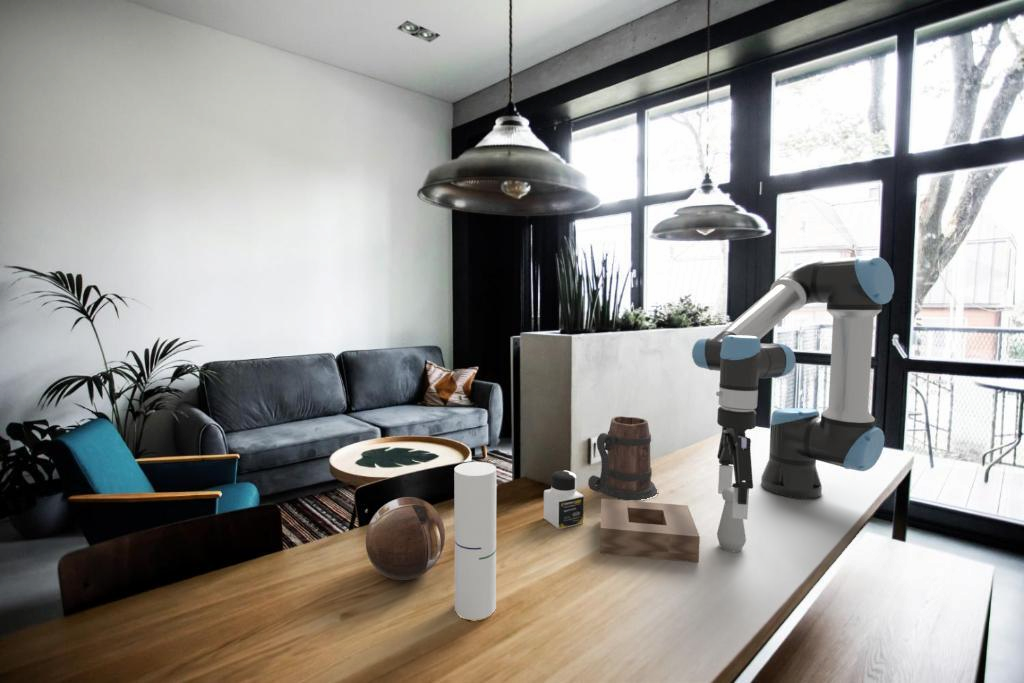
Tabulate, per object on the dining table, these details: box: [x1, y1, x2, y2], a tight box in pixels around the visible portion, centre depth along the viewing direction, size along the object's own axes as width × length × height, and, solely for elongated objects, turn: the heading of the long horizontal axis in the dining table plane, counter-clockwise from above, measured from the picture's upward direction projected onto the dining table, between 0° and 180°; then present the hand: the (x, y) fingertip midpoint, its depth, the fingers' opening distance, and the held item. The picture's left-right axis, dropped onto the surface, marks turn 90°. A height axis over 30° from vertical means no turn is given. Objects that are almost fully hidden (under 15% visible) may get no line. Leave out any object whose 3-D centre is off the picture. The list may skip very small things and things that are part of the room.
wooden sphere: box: [365, 496, 446, 581], centre depth 99 cm, size 15×15×15 cm
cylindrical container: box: [453, 461, 497, 620], centre depth 87 cm, size 7×7×25 cm
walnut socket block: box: [599, 498, 701, 563], centre depth 114 cm, size 20×16×6 cm
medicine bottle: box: [543, 469, 585, 530], centre depth 123 cm, size 7×7×12 cm
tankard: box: [587, 415, 658, 501], centre depth 142 cm, size 24×17×20 cm
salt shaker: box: [716, 487, 747, 553], centre depth 110 cm, size 6×6×13 cm
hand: (731, 505), depth 110 cm, fingers open, 13 cm apart
